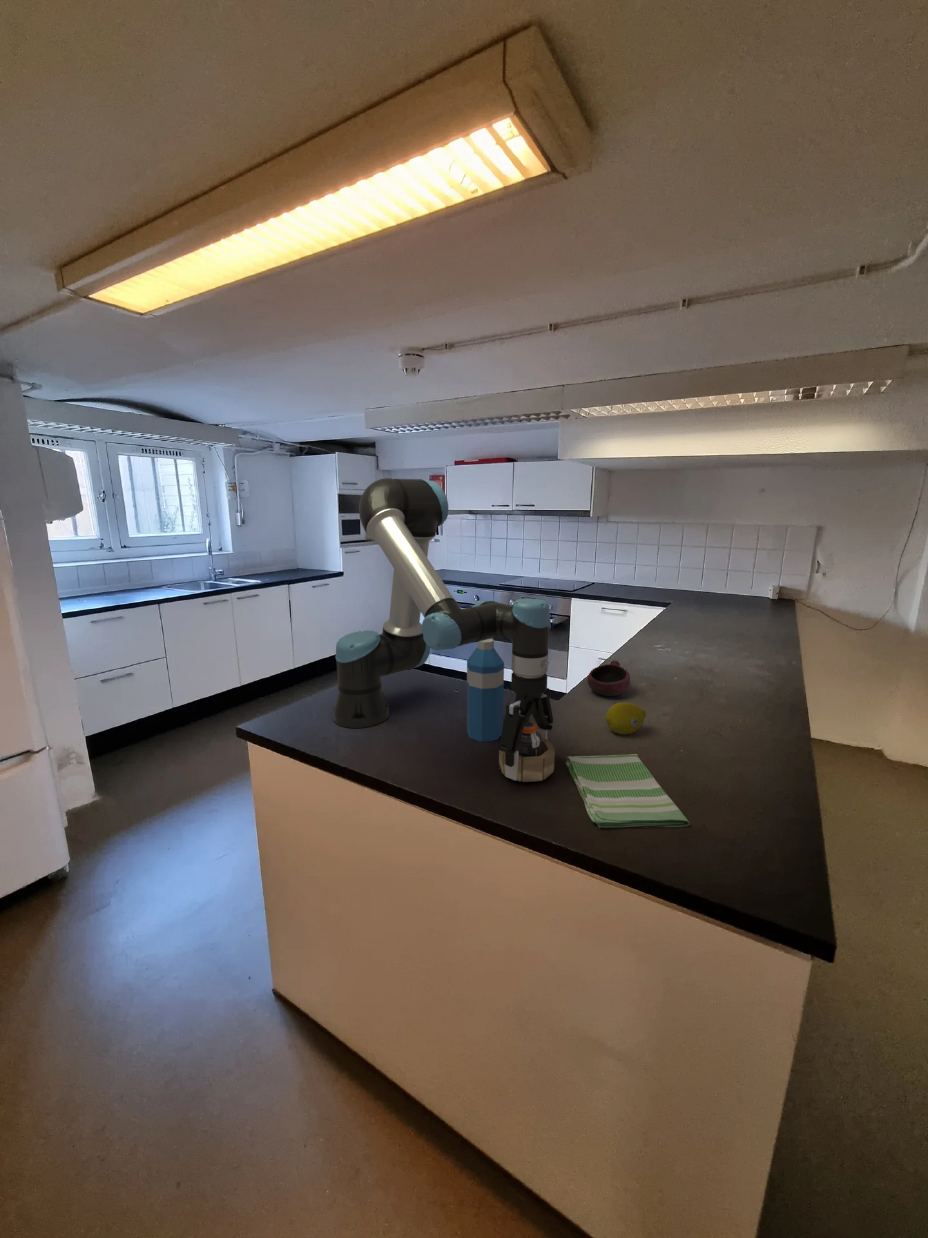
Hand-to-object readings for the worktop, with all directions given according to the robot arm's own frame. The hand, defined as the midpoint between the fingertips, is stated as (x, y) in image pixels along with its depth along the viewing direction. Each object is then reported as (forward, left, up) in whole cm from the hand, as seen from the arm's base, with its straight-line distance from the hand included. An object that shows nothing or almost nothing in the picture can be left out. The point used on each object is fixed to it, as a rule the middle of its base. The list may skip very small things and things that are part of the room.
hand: (526, 766), depth 107 cm
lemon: (+10, +32, -1) cm, 34 cm away
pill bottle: (0, 0, -1) cm, 1 cm away
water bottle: (-18, +9, -1) cm, 20 cm away
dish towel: (+19, +5, -2) cm, 20 cm away
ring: (0, 0, 0) cm, 0 cm away
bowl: (-5, +56, -1) cm, 56 cm away
